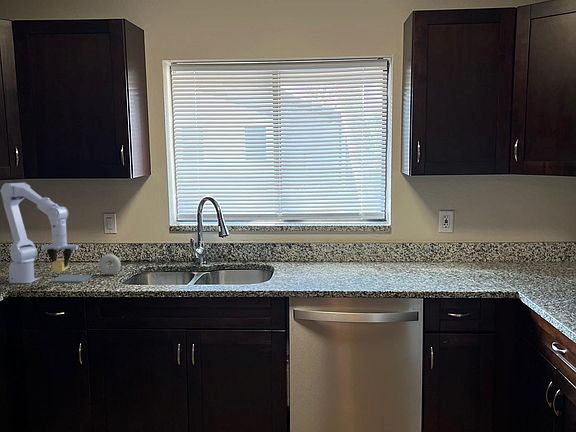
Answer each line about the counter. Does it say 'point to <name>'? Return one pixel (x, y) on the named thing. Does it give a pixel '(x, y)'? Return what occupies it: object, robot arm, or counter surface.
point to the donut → (114, 260)
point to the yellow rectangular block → (58, 266)
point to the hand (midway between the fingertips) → (60, 266)
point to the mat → (71, 279)
